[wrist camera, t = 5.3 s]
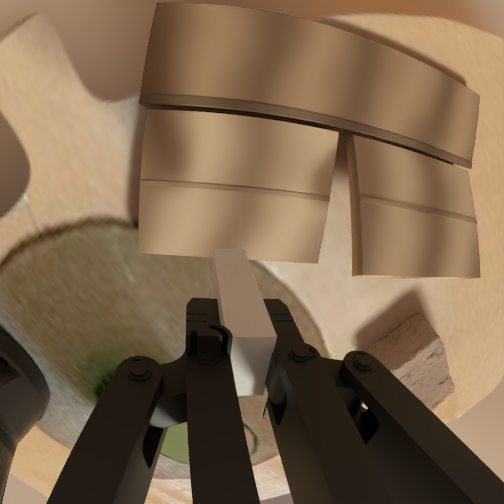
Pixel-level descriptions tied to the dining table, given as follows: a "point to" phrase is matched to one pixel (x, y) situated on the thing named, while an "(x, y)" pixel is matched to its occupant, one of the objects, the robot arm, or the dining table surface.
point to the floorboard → (305, 77)
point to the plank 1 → (234, 186)
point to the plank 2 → (409, 214)
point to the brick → (416, 360)
